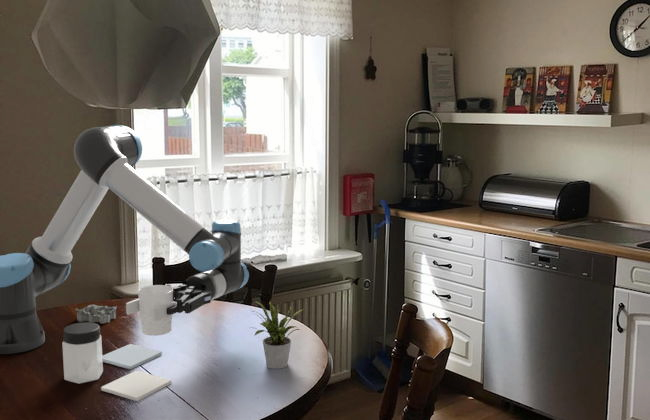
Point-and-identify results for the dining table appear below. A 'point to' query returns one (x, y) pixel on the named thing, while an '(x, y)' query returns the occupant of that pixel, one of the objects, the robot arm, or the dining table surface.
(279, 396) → the dining table surface
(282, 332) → the house plant
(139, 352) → the light grey square tile
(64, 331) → the jar
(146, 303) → the white cup
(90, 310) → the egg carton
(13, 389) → the dining table surface
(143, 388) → the tile shorter
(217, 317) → the dining table surface
